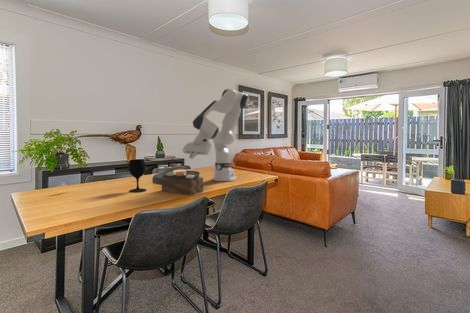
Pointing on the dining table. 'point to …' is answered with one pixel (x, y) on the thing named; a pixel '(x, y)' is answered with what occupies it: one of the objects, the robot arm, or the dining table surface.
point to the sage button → (170, 174)
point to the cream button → (190, 176)
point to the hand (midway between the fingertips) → (191, 157)
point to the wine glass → (137, 172)
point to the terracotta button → (179, 173)
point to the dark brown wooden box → (182, 184)
